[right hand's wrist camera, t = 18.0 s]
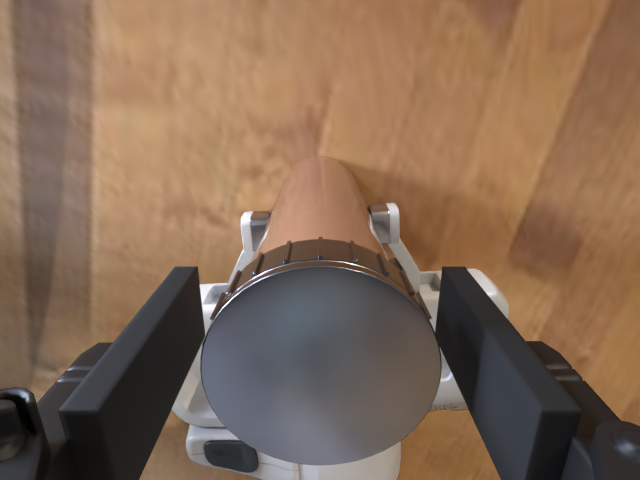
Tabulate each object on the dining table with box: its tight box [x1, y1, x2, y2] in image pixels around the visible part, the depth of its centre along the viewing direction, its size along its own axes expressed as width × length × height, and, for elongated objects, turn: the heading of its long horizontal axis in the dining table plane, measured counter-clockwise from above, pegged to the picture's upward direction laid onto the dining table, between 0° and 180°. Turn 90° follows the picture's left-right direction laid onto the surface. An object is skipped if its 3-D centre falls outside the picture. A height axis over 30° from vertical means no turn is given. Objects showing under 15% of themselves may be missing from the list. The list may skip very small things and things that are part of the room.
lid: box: [200, 237, 442, 466], centre depth 11 cm, size 6×6×2 cm
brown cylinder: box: [252, 156, 389, 261], centre depth 20 cm, size 5×5×18 cm
